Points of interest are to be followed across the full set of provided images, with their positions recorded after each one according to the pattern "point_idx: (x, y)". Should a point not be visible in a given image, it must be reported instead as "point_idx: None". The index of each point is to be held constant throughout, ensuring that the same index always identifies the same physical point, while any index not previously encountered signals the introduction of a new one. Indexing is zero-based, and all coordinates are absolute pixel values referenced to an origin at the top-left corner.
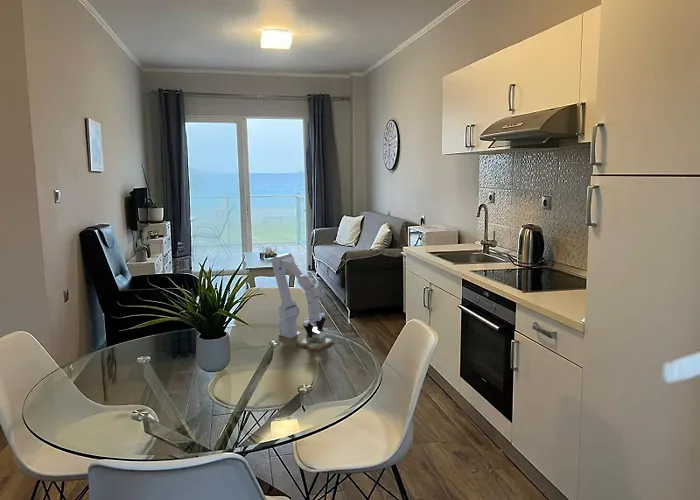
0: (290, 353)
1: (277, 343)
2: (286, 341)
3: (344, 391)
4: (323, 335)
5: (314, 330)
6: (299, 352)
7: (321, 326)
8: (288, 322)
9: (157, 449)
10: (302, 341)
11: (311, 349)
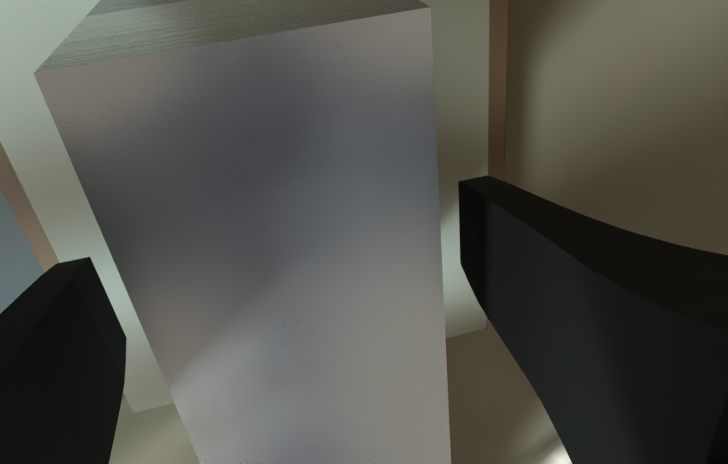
0: (711, 171)
1: (554, 449)
2: (464, 441)
3: None
4: (180, 10)
5: (363, 309)
6: (637, 105)
7: (16, 374)
8: None
9: None
10: (456, 292)
11: (501, 8)
